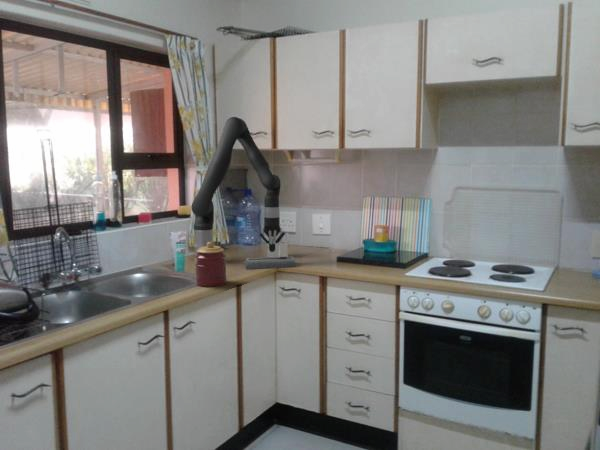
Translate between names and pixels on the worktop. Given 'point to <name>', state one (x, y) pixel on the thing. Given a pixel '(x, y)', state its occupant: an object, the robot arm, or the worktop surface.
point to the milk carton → (275, 253)
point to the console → (269, 262)
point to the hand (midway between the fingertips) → (272, 251)
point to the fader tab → (283, 250)
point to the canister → (210, 266)
